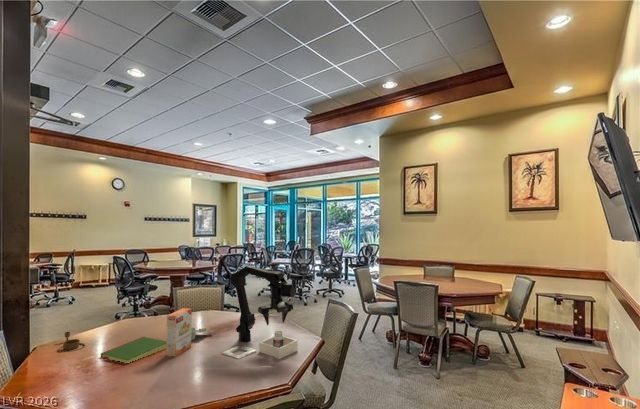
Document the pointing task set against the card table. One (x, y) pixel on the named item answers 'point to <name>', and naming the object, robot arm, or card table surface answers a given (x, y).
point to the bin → (281, 352)
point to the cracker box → (178, 332)
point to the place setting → (71, 343)
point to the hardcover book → (135, 350)
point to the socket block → (240, 347)
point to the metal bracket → (198, 332)
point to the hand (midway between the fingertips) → (275, 323)
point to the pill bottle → (278, 339)
